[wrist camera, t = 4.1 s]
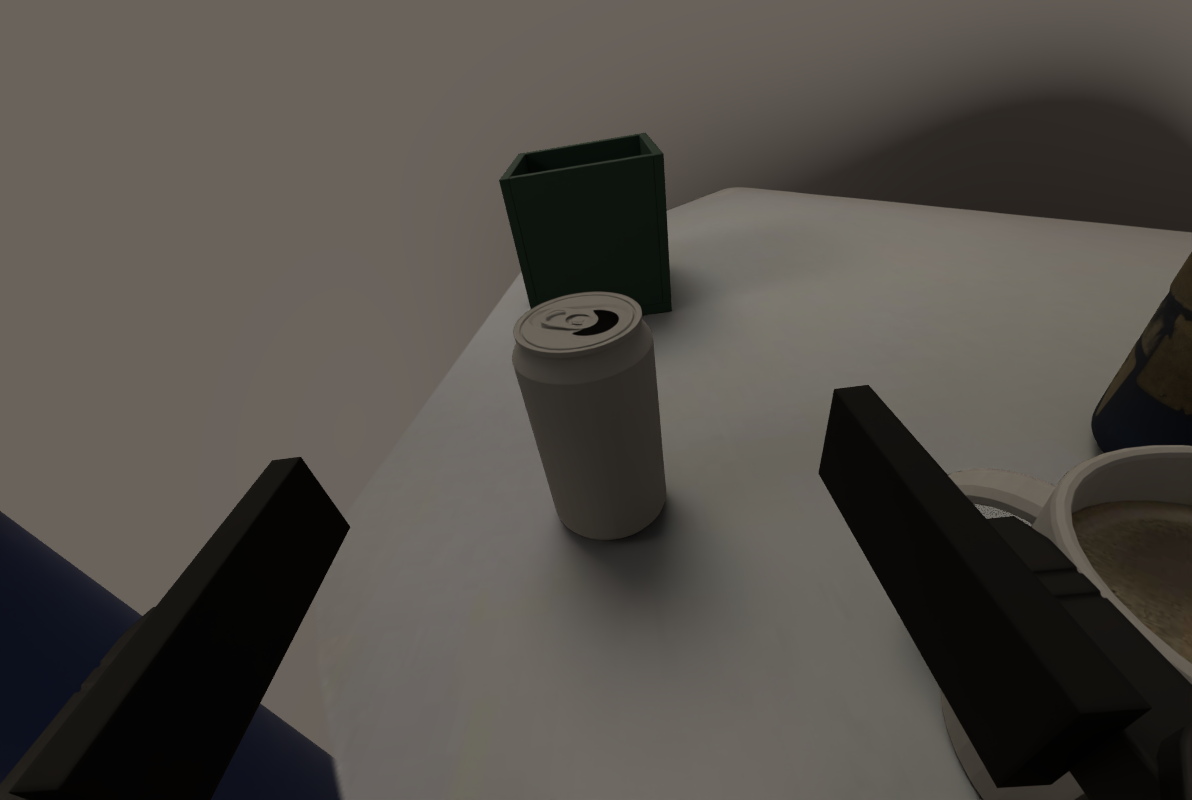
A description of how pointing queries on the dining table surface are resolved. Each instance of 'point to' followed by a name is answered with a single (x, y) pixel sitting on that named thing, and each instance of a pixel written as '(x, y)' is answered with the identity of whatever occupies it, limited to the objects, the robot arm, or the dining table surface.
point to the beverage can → (594, 410)
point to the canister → (1153, 380)
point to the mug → (1104, 557)
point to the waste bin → (592, 221)
